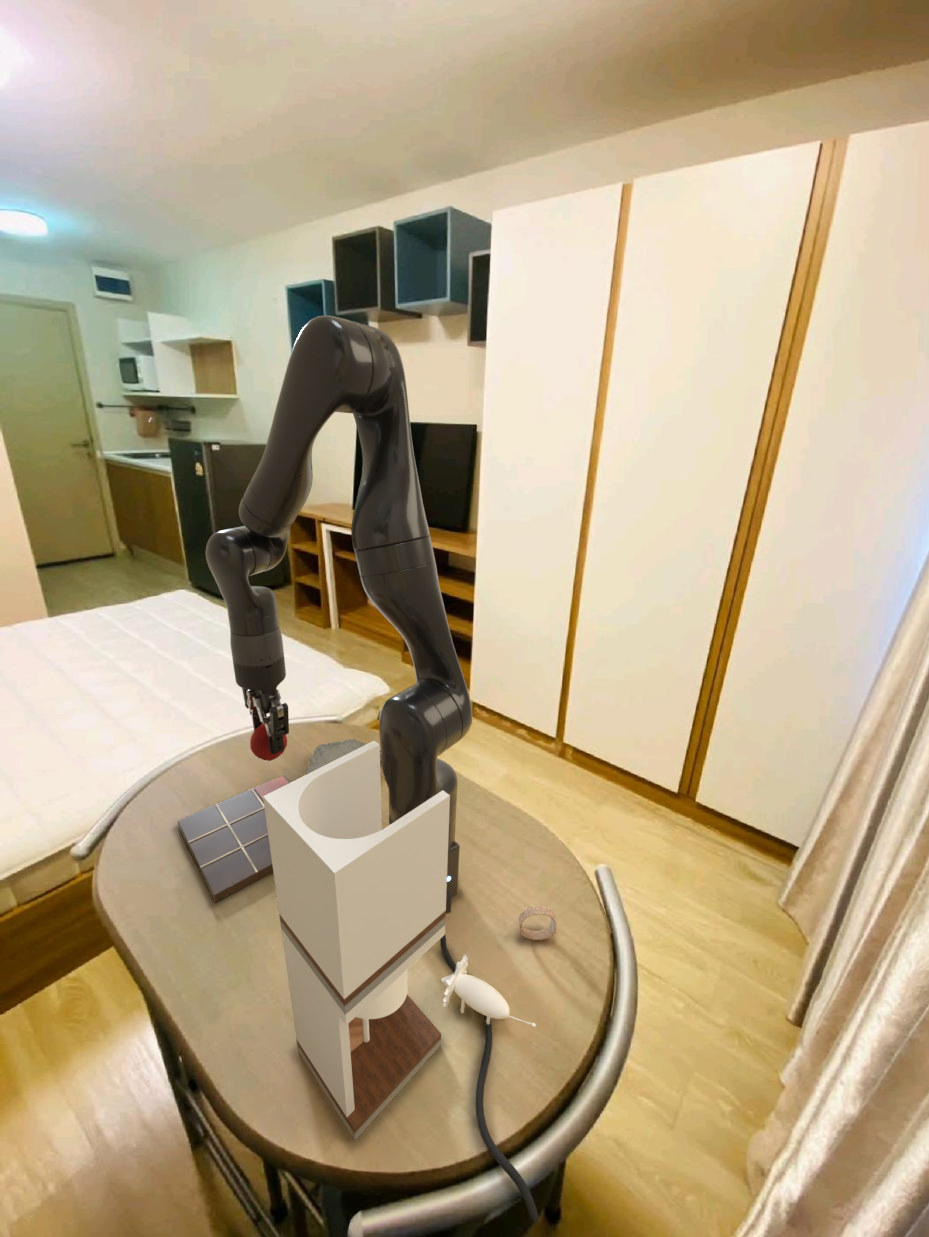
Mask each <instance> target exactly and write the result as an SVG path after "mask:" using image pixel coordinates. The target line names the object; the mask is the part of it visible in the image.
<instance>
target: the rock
mask: <svg viewBox="0 0 929 1237" xmlns="http://www.w3.org/2000/svg"><path fill="white" fill-rule="evenodd" d="M366 744H367V743H366V742H362V741H360V740H357V739H355V738H351V739H346V740H344V741H334V742H328V743H321V744H319V745H317V746H316V747H315V748H314V751H313V755H312V756H311V757H310V759H309V765H308V766H307V768H306V771H305V775H307V774H309V773H311V772H313V771H315V770H317V769H319V768H320V767H322V766H324V765H326V764H328V763H330V762H332V761H334V760H336V759H338V758H340V757H342V756H344V755H346V754H348V753H350V752H352V751H354V750H356V749H358V748H360V747H362V746H364V745H366ZM380 763H382V756H381V749H380Z"/></svg>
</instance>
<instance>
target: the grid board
mask: <svg viewBox="0 0 929 1237" xmlns="http://www.w3.org/2000/svg"><path fill="white" fill-rule="evenodd" d="M289 783H291V781H290V780H289V779H288V778H287V776H285V775H284V774H283V775H281V776H278V777H276V778H273V779H270V780H269V781H267V782H264V783H261V784H260V785H257V786H255V787H250V788H249V789H248V790H245V791H244V792H243V791H242V792H241V793H238V794H236V795H234V796H231V797H229V798H227V799H225V800H222V801H220V802H215V803H214V804H213V805H210V806H208V807H206V808H203V809H201V810H199V811H197V812H193V813H192V814H189V815H187V816H185V817H182V818H180V819H178V820H177V821H176V822H177V826H178V829H179V831H180V833H181V835H182V837H183V839H184V842H185V844H186V845H187V847H188V849H189V851H190V853H191V856H192V858H193V860H194V863H195V864H196V866H197V868H198V870H199V873H200V874H201V876H202V878H203V881H204V882H205V885H206V886H207V888H208V890H209V893H210V895H211V897H212V899H213V901H214V903H217V902H220V901H222V900H223V899H226V898H227V897H230V896H231V895H233V894H234V893H236V892H238V891H241V890H242V889H244V888H246V887H248V886H249V885H251V884H253V883H255V882H257V881H258V880H260V879H262V878H264V877H266V876H268V875H269V874H271V873H273V865H272V858H271V851H270V843H269V836H268V829H267V822H266V814H265V807H264V800H263V796H265V795H267V794H269V793H271V792H273V791H275V790H277V789H279V788H281V787H283V786H285V785H287V784H289Z"/></svg>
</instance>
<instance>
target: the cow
mask: <svg viewBox="0 0 929 1237" xmlns="http://www.w3.org/2000/svg"><path fill="white" fill-rule="evenodd" d="M468 961H469V958H468V955H467V954H466V953H464V954H463V956H462V959H461V961H457V963H456V970H455V973H454V972H453V973H451V974H449V975H446V976H444V977H443V978H441V980H440V983H441V984H442V985H444V986H445V987H446V989H445V991H444V993H443V995H444V998H443V1000H442V1002H444V1003H443V1004H442V1006H443V1007H445V1008H446V1007H447V1006H448V1004H449V1003H450V1000H451V996H452V994H453V993H454V992H455V993H456V995H457V997H458V998H460V999H461V1002H460V1009H459V1011H460V1013H461V1014H464V1013H465V1004H466V1005H467V1006H468V1007H470V1008H471V1009H473V1010H474V1011H476V1012H477V1013H479V1014H481V1015H482V1014H483V1015H485V1016H487V1020H486V1024H487V1025H489V1024H490V1019H496V1020H504V1019H506V1018H508V1019H511V1020H515V1021H518V1022H519V1023H523V1024H526V1025H529V1026H531V1028H535V1027H537V1024H536V1023H535V1022H529V1021H527V1020H523V1019H521V1018H517V1017H515V1016H512V1015H510V1013H511V1012H510V1011H511V1010H510V1006H509V1004H508V1002H507V1001H506V999H505V998H504V997H503V995H502V993H500V992H499V991H498V990H497V989H495V988H494V987H493V985H490V984H489V983H487V982H486V981H485V980H482V979H480V978H479V977H476V976H474V975H472V974H471V975H470V974H467V973H468V970H467V968H468V966H469V962H468ZM483 1015H482V1016H483Z"/></svg>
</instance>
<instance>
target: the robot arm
mask: <svg viewBox="0 0 929 1237" xmlns="http://www.w3.org/2000/svg"><path fill="white" fill-rule="evenodd" d="M408 397H409V396H408V388H407V380H406V372H405V368H404V362H403V359H402V356H401V353H400V351H399V348H398V346H397V344H396V343H395V341H394V340H393V338H392V337H391V336H390V335H389V334H388V333H386V332H385V331H383V330H381V329H379V328H378V327H375V326H372V325H368V324H365V323H361V322H358V321H354V320H350V319H346V318H342V317H338V316H334V315H328V314H327V315H317V316H316V317H314V318H312V319H310V320H309V321H308V322H307V323H306V324H305V325H304V326H303V327H302V329H301V330H300V332H299V334H298V336H297V337H296V340H295V342H294V344H293V347H292V350H291V352H290V355H289V358H288V362H287V365H286V370H285V373H284V377H283V381H282V384H281V388H280V392H279V395H278V398H277V402H276V407H275V409H274V410H275V411H274V414H273V418H272V421H271V427H270V430H269V433H268V438H267V441H266V445H265V448H264V450H263V453H262V457H261V458H260V460H259V463H258V465H257V467H256V469H255V472H254V473H253V476H252V478H251V479H250V481H249V484H248V486H247V488H246V489H245V491H244V493H243V496H242V497H241V500H240V503H239V506H238V516H239V520H240V521H241V523H242V525H243V526H238V527H233V528H227V529H223V530H218V531H216V532H214V533H213V534H211V535H210V537H209V538H208V541H207V542H206V546H205V560H206V564H207V565H208V566H207V567H208V569H209V570H210V572H211V574H212V577H213V578H214V580H215V583H216V584H217V586H218V589H219V591H220V594H221V596H222V598H223V600H224V603H225V606H226V611H227V617H228V626H229V631H230V632H229V633H230V634H229V636H230V638H229V641H230V642H229V644H230V650H231V657H232V658H231V659H232V665H233V672H234V678H235V684H236V685H237V686H238V687H240V688H241V690H242V695H243V696H242V697H243V700H244V707H245V708H246V709H249V712H248V713H249V715H250V716H251V719H252V720H251V721H252V726H253V732H254V731H255V729H256V728H258V727H259V726H260V725H261V724H262V723H264V724H265V727H266V731H267V735H268V744H269V751H270V753H271V754H276V753H279V752H281V751H283V750H284V742H283V735H285V734H286V735H289V733H290V722H289V720H290V719H289V717H290V716H289V705H288V704H287V702H284V703H282V702H281V700H282V699H281V698H282V697H281V694H280V690H279V689H278V686H280V684H281V683H282V682H283V681H284V680H285V678H286V676H287V672H286V663H285V662H286V661H285V660H286V659H285V653H284V652H285V651H284V643H283V641H284V640H283V635H282V632H281V628H280V619H279V610H278V609H279V608H278V601H277V597H276V594H275V592H274V591H273V590H272V589H271V588H269V587H266V586H262V585H251V584H250V581H249V577H250V576H254V575H257V574H261V573H264V572H268V571H270V570H272V569H274V568H275V567H277V566H278V565H279V564H280V563H281V562H282V561H283V559H284V557H285V555H286V552H287V548H288V544H289V539H290V534H291V527H292V525H293V524H294V522H295V521H296V519H297V518H298V516H299V514H300V513H301V511H302V509H303V507H304V506H305V504H306V502H307V500H308V498H309V495H310V493H311V490H312V486H313V478H314V477H313V475H314V474H313V459H312V457H313V456H312V454H313V446H314V443H315V440H316V439H317V436H318V435H319V433H320V431H321V430H322V428H323V427H324V426H325V424H326V423H327V422H328V420H329V419H330V418H331V417H332V416H333V414H335V413H342V414H352V415H353V418H354V421H355V422H354V423H355V426H356V428H357V433H358V438H359V444H360V449H361V457H362V469H361V470H362V471H361V478H360V482H359V487H358V492H357V496H356V500H355V504H354V508H353V515H352V518H351V528H350V529H351V530H350V532H351V534H350V535H351V542H352V548H353V550H354V557H355V560H356V564H357V565H356V566H357V569H358V573H359V578H360V582H361V584H362V587H363V590H364V592H365V594H366V596H367V598H368V599H369V600H370V602H371V603H372V604H373V606H374V607H375V608H376V609H377V610H378V611H379V613H381V614H382V616H383V617H384V618H385V619H386V620H387V621H388V622H389V623H390V624H391V626H393V627H394V629H395V630H396V631H397V633H399V634H400V636H401V637H402V639H403V640H404V643H405V644H406V646H407V648H408V652H409V654H410V658H411V660H412V664H413V669H414V674H415V683H414V684H412V685H411V686H409V687H407V688H405V689H403V690H402V691H400V692H398V693H396V694H394V695H392V696H390V697H389V698H387V700H385V701H384V703H383V704H382V706H381V709H380V712H379V719H378V731H379V732H378V734H379V744H380V750H381V756H382V761H381V766H382V767H381V768H382V773H383V777H384V781H385V783H386V786H387V788H388V826H389V825H390V824H392V823H394V822H395V821H397V820H398V819H400V818H401V817H403V816H404V815H406V814H407V813H409V812H410V811H412V810H413V809H415V808H416V807H418V806H419V805H421V804H423V803H424V802H426V801H427V800H429V799H430V798H432V797H433V796H435V795H436V794H438V793H439V792H441V791H442V790H443V791H445V792H446V793H447V794H449V795H450V808H449V836H448V863H447V890H446V915H447V914H451V913H452V899H453V898H454V897H457V895H458V889H459V868H460V866H459V865H460V850H461V848H460V844H459V843H458V842H456V824H457V823H456V822H457V804H458V786H459V785H458V783H459V781H458V776H457V772H456V771H455V769H454V767H452V765H451V764H449V763H448V762H446V761H445V760H443V759H441V758H438V757H439V756H441V755H442V754H443V753H444V752H446V751H447V750H449V749H450V748H452V747H453V746H454V745H456V744H457V743H458V742H460V741H461V740H462V739H464V738H465V736H466V735H467V734H468V733H469V732H470V729H471V727H472V724H473V708H472V702H471V698H470V697H471V696H470V694H469V690H468V687H467V683H466V679H465V677H464V674H463V670H462V667H461V664H460V661H459V657H458V655H457V652H456V648H455V645H454V642H453V637H452V634H451V630H450V625H449V621H448V617H447V613H446V608H445V604H444V599H443V596H442V590H441V586H440V581H439V575H438V574H439V573H438V568H437V563H436V557H435V552H434V548H433V543H432V538H431V533H430V528H429V524H428V520H427V516H426V511H425V507H424V503H423V502H424V501H423V497H422V491H421V485H420V480H419V473H418V468H417V463H416V458H415V452H414V446H413V445H414V444H413V438H412V428H411V419H410V409H409V398H408ZM267 714H268V715H267ZM270 724H271V726H270ZM284 751H285V750H284ZM439 941H440V949H441V952H442V955H443V958H444V960H445V961H446V963H447V965H448V966H449V968H450V970H451V971H452V972H453V974H454V973H455V970H456V965H457V963H455V961H454V959H453V958H452V956H451V954H450V951H449V950H448V944H447V935H446V934H445V935H444V936H443V937H442V938H441V939H440V940H439ZM481 1015H482V1017H483V1023H484V1031H485V1037H484V1038H485V1039H484V1048H483V1053H482V1058H481V1062H480V1067H479V1072H478V1076H477V1083H476V1089H475V1115H476V1121H477V1126H478V1130H479V1133H480V1136H481V1139H482V1141H483V1144H484V1145H485V1147H486V1148H487V1150H488V1152H489V1154H490V1155H491V1156H492V1157H493V1159H494V1160H495V1162H497V1164H498V1165H499V1166H500V1167H501V1168H502V1170H503V1171H504V1172H505V1173H506V1175H508V1177H509V1178H510V1179H511V1180H512V1182H513V1183H514V1184H515V1186H516V1188H517V1189H518V1191H519V1193H520V1195H521V1196H522V1198H523V1201H524V1203H525V1206H526V1209H527V1212H528V1215H529V1218H530V1219H531V1220H532V1222H535V1223H536V1222H538V1220H539V1213H538V1209H537V1206H536V1203H535V1200H534V1197H533V1195H532V1193H531V1191H530V1189H529V1186H528V1185H527V1182H525V1179H524V1178H523V1176H522V1175H521V1173H519V1171H518V1170H517V1168H515V1166H514V1165H513V1164H512V1163H511V1161H510V1160H509V1159H507V1157H506V1156H505V1155H504V1154H503V1152H502V1151H501V1150H500V1149H499V1148H498V1146H497V1145H496V1143H495V1142H494V1139H493V1138H492V1136H491V1134H490V1132H489V1129H488V1126H487V1122H486V1117H485V1110H484V1092H485V1084H486V1079H487V1073H488V1068H489V1064H490V1059H491V1055H492V1054H491V1053H492V1047H493V1024H492V1020H491V1019H492V1018H490V1024H489V1025H487V1024H486V1020H487V1016H485V1015H483V1014H481Z"/></svg>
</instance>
